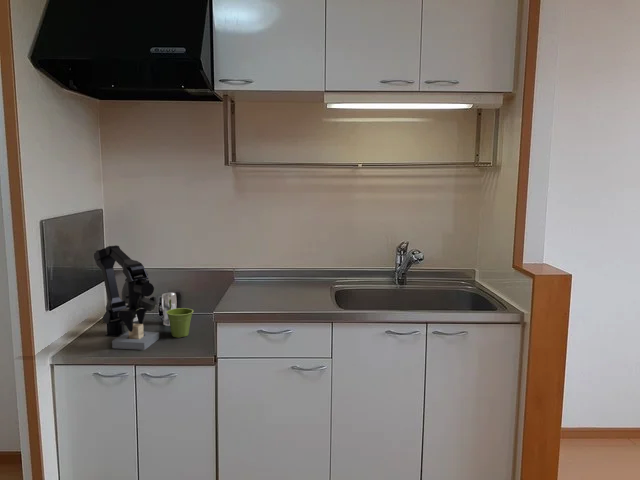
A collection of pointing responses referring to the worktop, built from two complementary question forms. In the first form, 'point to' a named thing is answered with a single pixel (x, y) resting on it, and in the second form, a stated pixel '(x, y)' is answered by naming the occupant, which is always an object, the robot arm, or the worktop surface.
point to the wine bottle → (124, 294)
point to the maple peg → (136, 332)
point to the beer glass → (168, 305)
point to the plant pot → (180, 321)
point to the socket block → (135, 341)
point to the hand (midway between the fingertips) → (136, 328)
